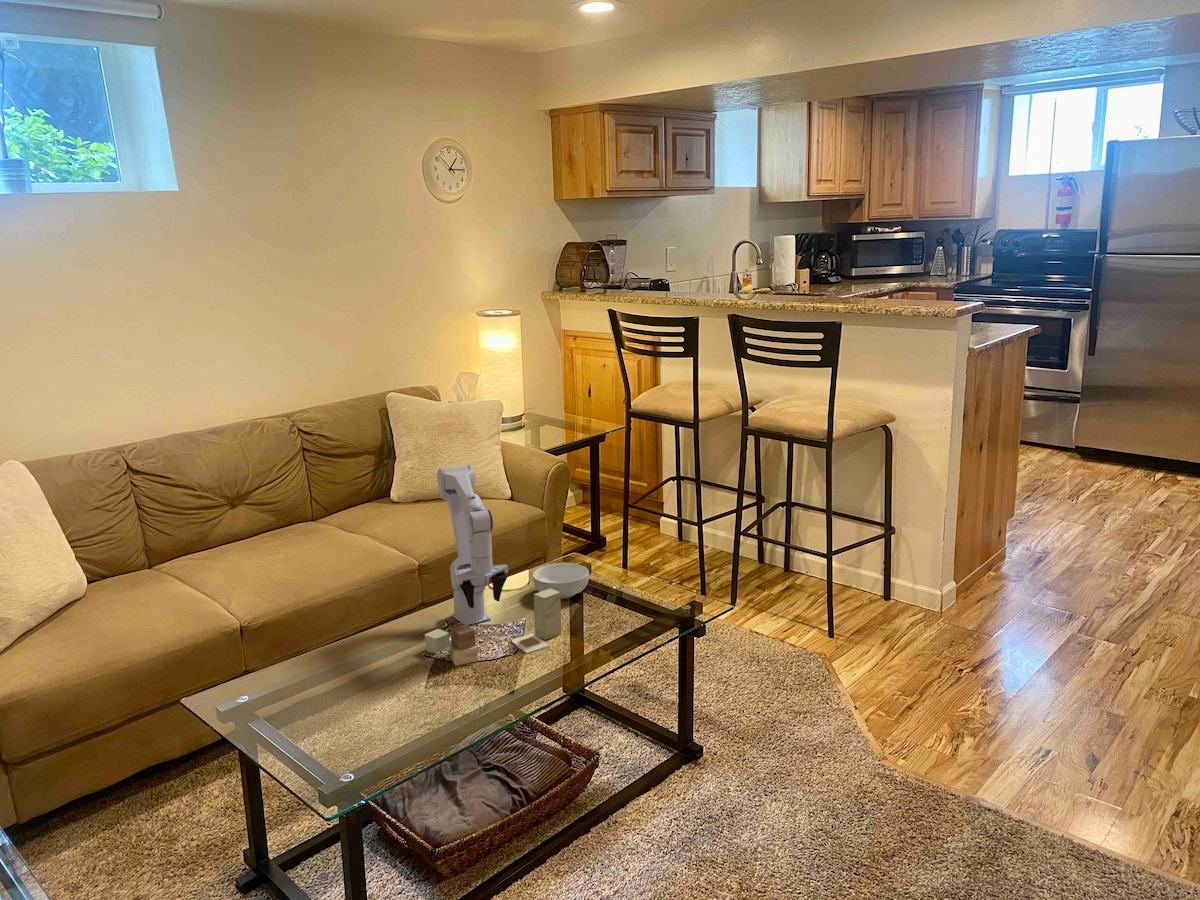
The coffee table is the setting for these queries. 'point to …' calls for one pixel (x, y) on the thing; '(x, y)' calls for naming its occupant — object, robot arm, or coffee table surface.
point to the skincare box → (547, 613)
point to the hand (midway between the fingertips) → (483, 603)
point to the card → (530, 643)
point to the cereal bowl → (561, 578)
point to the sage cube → (436, 640)
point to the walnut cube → (463, 637)
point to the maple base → (463, 655)
